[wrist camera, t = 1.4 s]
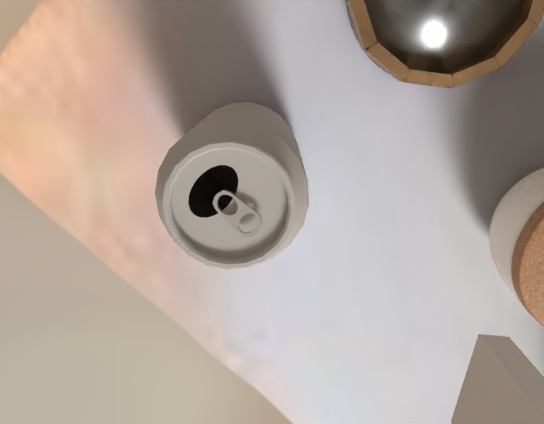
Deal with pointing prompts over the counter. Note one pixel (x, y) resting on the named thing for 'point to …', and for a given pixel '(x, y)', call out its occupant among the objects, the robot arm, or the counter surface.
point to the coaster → (442, 36)
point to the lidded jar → (521, 242)
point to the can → (234, 187)
